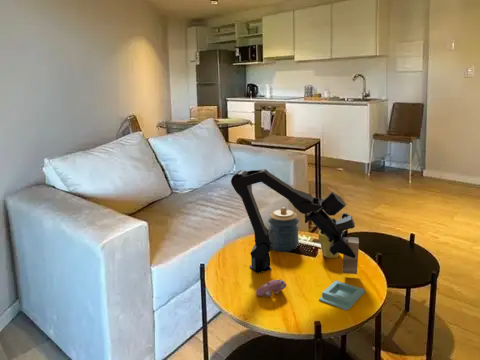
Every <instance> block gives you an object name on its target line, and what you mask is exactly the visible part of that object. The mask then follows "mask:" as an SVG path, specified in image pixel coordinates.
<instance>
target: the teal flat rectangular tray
mask: <svg viewBox="0 0 480 360" xmlns="http://www.w3.org/2000/svg"><path fill="white" fill-rule="evenodd" d="M365 293H366V290H365V289H364V288H362V287H359V286H355V285H352V284H349V283H345V282H344V281H339V280H334V281H333V282H332V283H331V284H330V285H329V286H328V287H327V288H325V289H324V290H323V291H322V292H321V297H320V298H319V299H318V301H319V302H323V303H324V304H328V305H331V306H333V307H337V308H338V309H341V310H344V311H348V310H349V309H351V308H352V307H353V306H354V304H355V303H356V302H357V301H358V300H359V299H360V298H361V297H362V296H363V295H364V294H365Z"/></svg>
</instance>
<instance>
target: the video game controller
mask: <svg viewBox="0 0 480 360" xmlns="http://www.w3.org/2000/svg"><path fill="white" fill-rule="evenodd" d="M286 287H287V283H286V282H285V280H283V279H281V278H280V279H272V280H270V281H268V282H266V283H264V284H262V285H261V286H260V287H259V288H257V289H256V290H255V293H256V296H258V297H263V296H265V297H266V298H267V297H270V296H272V294H273V295H278V294H279V293H280V292H281V291H282V290H284V289H285V288H286Z"/></svg>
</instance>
